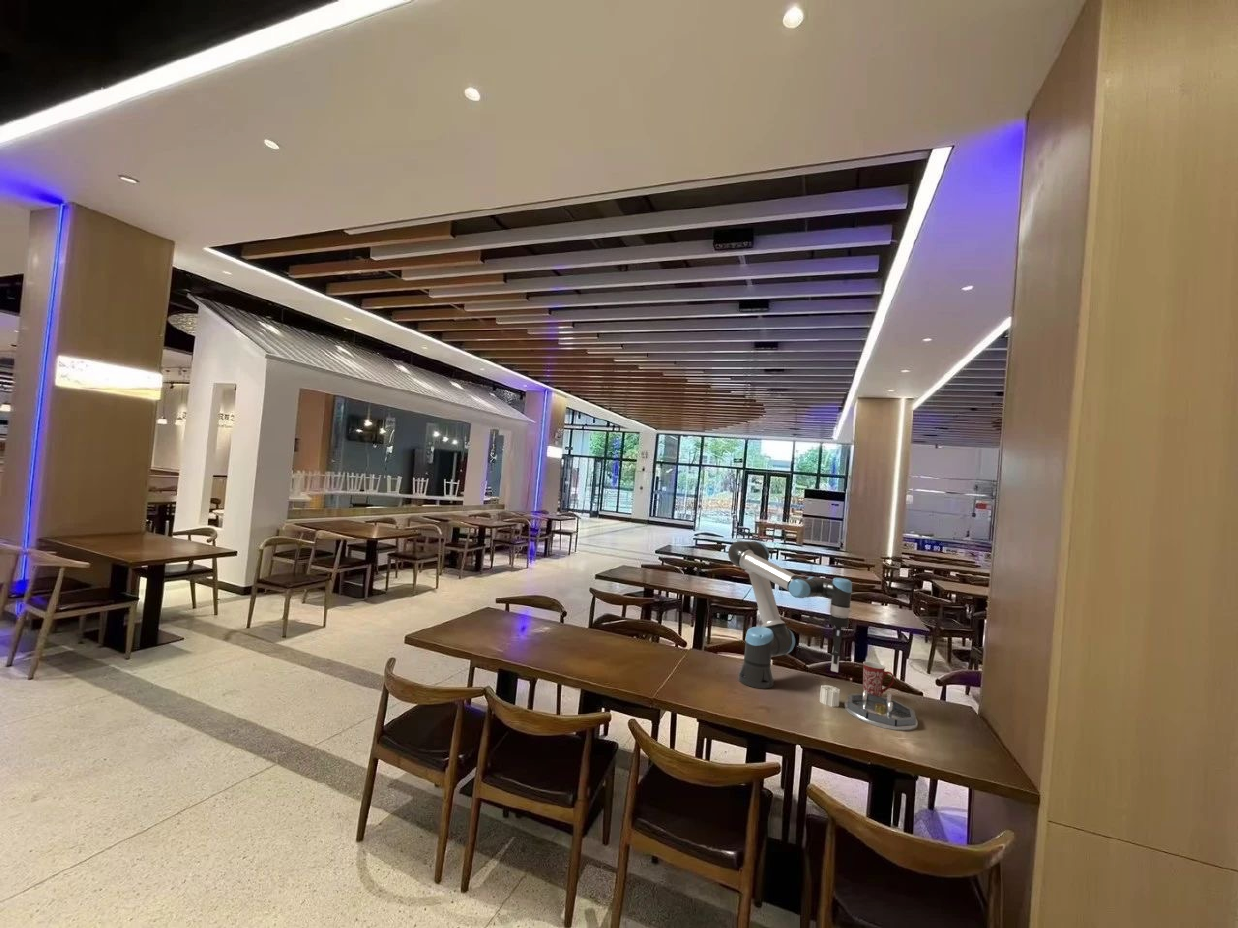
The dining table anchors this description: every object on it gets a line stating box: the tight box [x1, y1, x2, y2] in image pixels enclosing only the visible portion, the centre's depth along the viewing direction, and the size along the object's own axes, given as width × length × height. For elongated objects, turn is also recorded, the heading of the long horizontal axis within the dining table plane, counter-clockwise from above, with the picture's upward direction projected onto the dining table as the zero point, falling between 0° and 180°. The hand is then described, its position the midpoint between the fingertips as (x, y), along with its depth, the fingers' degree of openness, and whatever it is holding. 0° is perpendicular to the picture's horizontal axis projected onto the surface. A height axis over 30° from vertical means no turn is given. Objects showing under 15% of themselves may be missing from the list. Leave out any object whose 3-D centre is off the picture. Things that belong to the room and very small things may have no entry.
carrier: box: [844, 690, 919, 732], centre depth 212 cm, size 26×26×8 cm
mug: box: [862, 661, 895, 697], centre depth 232 cm, size 13×9×14 cm
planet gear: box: [819, 684, 841, 708], centre depth 219 cm, size 7×7×6 cm
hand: (834, 666), depth 220 cm, fingers open, 13 cm apart
